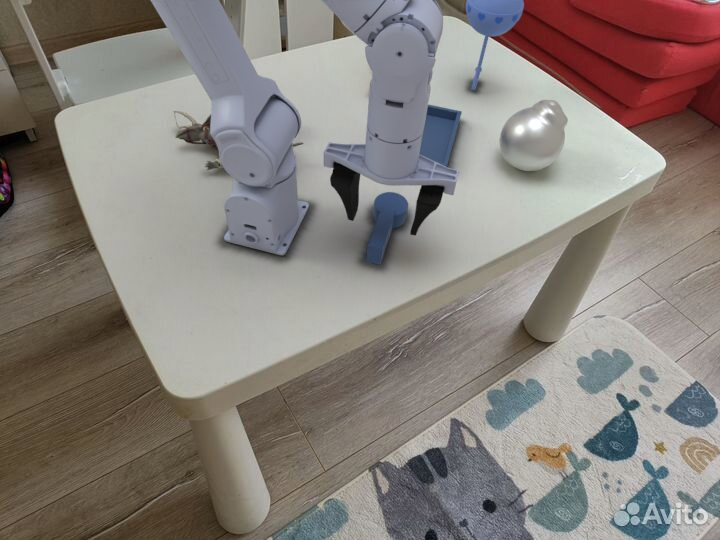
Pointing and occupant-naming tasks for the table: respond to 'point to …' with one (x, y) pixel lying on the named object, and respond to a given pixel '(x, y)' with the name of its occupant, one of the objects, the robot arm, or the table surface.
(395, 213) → the blue spoon
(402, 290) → the table surface
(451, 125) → the blue tray
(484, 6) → the baby rattle
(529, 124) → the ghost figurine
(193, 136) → the figurine
